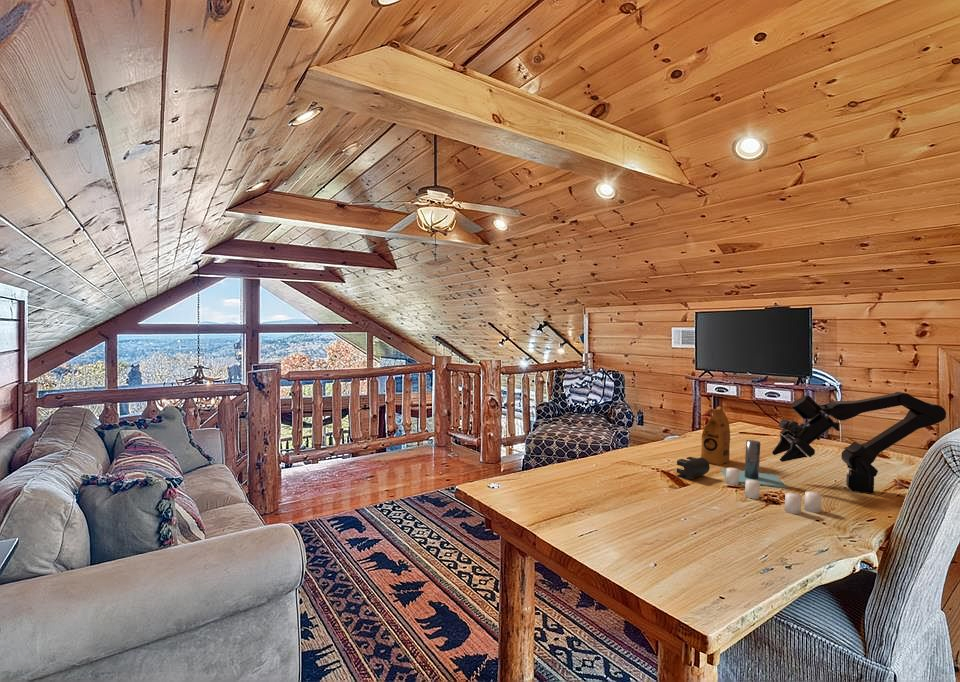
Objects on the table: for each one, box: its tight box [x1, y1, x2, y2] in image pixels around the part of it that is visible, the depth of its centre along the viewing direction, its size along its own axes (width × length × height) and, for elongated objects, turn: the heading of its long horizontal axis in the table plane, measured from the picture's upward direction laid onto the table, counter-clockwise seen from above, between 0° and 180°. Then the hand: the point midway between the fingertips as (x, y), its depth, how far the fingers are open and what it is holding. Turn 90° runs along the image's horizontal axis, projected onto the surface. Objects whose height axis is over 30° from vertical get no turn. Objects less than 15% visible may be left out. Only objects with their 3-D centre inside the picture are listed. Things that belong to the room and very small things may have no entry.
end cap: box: [676, 456, 711, 480], centre depth 170 cm, size 10×7×7 cm
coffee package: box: [700, 405, 731, 466], centre depth 191 cm, size 10×12×22 cm
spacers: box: [725, 467, 822, 515], centre depth 152 cm, size 14×29×5 cm, turn 11°
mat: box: [720, 468, 788, 489], centre depth 169 cm, size 18×14×1 cm
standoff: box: [744, 439, 761, 479], centre depth 169 cm, size 4×4×13 cm
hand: (776, 457), depth 166 cm, fingers open, 9 cm apart
